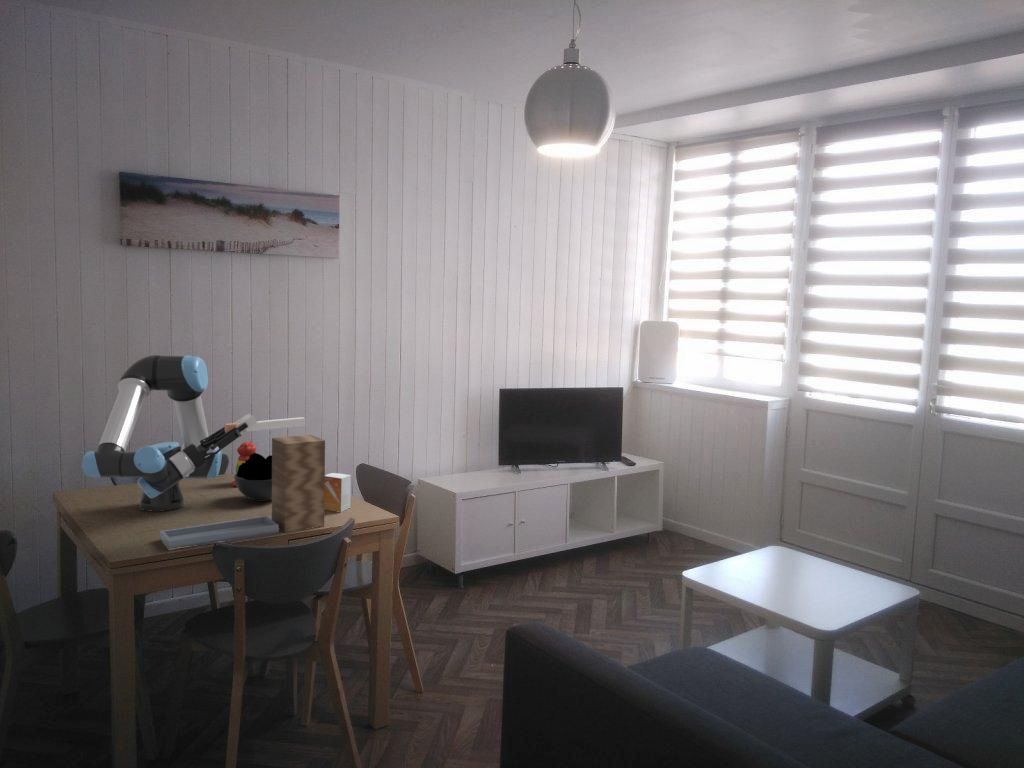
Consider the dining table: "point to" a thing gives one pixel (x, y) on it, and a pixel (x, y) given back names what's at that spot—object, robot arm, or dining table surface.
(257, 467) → the coal bowl
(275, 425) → the marker
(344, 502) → the small box
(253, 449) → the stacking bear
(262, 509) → the dining table surface
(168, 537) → the tray
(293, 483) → the pedestal
